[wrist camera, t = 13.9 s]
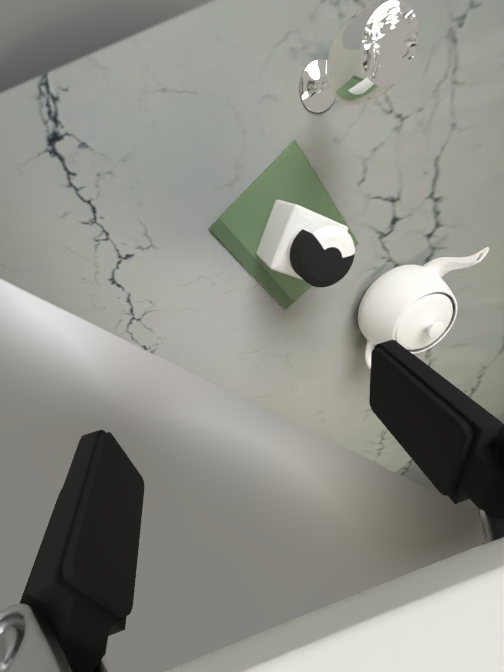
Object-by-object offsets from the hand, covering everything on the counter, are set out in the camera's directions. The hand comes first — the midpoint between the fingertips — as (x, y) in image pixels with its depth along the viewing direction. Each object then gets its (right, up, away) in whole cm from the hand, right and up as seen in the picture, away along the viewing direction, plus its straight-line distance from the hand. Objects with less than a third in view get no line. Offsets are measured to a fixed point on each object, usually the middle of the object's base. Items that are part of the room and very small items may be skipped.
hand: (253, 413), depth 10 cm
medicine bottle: (+5, +16, +28) cm, 32 cm away
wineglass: (+7, +30, +21) cm, 37 cm away
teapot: (+23, +9, +37) cm, 44 cm away
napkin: (+5, +16, +28) cm, 33 cm away
